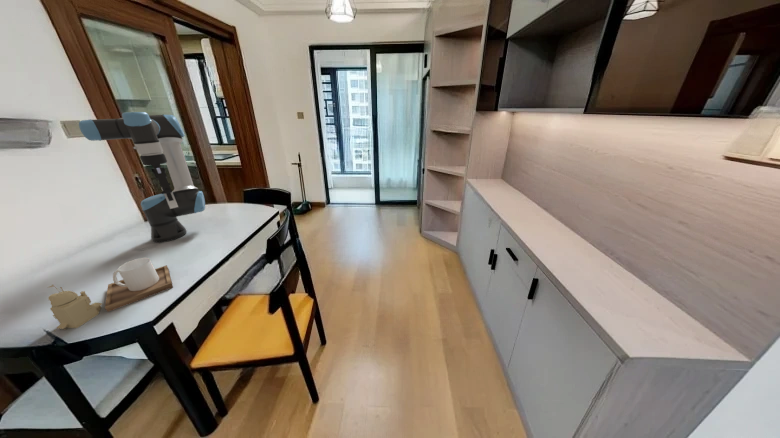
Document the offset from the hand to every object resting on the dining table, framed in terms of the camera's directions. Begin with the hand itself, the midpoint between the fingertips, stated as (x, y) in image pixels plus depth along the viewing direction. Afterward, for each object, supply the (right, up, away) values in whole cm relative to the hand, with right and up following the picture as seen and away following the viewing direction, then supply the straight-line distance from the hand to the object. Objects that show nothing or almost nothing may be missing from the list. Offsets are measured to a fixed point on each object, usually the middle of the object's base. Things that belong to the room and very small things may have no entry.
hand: (172, 204), depth 108 cm
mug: (-4, -33, -10) cm, 34 cm away
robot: (-10, -40, -24) cm, 48 cm away
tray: (-4, -34, -10) cm, 35 cm away
